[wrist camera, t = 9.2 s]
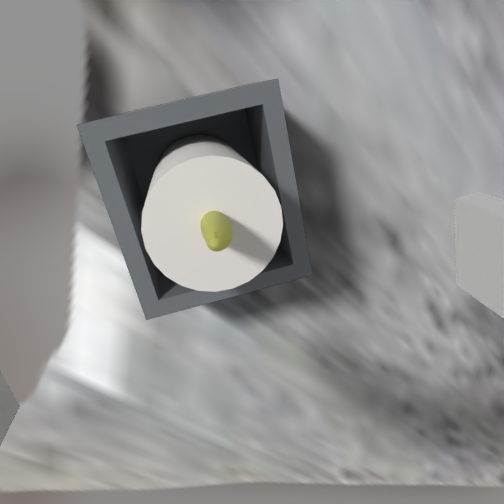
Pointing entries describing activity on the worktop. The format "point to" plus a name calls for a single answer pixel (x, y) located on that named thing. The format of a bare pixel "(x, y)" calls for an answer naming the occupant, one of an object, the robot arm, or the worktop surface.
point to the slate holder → (144, 162)
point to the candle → (209, 216)
